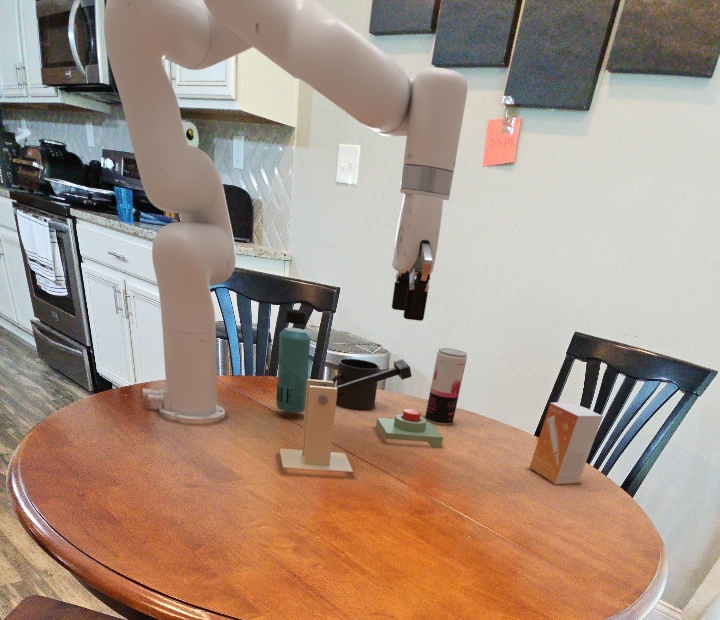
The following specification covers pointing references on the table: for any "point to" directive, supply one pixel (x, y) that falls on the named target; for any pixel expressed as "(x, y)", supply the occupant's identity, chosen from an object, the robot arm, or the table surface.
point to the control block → (409, 430)
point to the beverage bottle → (293, 364)
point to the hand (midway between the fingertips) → (406, 314)
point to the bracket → (317, 432)
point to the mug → (360, 396)
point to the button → (411, 415)
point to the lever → (377, 377)
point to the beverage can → (445, 386)
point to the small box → (565, 442)
